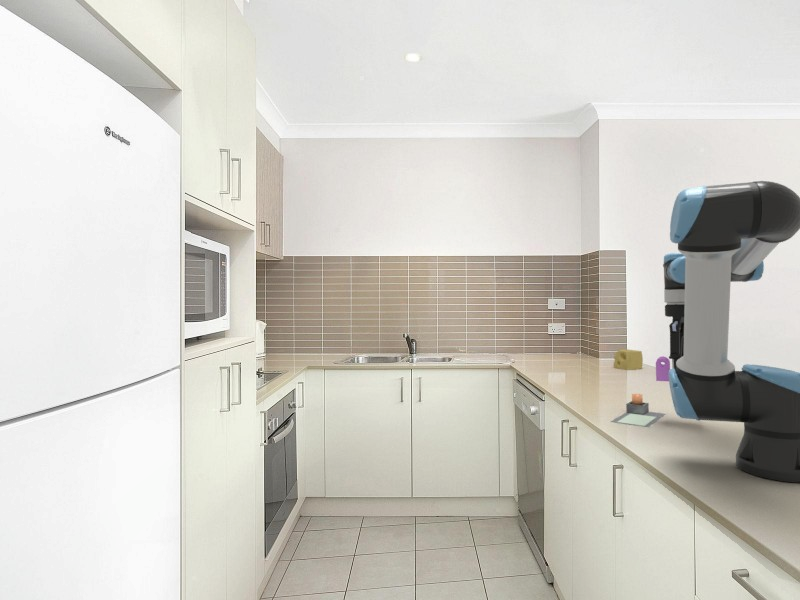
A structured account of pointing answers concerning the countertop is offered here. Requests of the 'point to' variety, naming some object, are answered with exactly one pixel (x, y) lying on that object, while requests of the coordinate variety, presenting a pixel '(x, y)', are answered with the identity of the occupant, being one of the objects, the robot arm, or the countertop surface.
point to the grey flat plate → (639, 419)
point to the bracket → (662, 369)
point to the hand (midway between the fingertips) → (680, 379)
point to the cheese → (628, 359)
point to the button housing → (637, 408)
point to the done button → (637, 399)
